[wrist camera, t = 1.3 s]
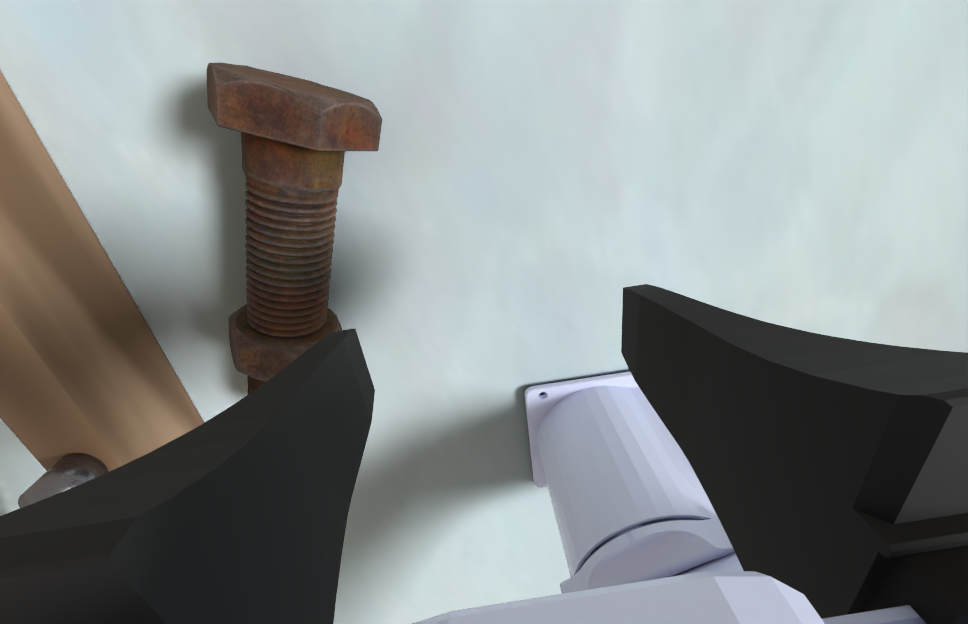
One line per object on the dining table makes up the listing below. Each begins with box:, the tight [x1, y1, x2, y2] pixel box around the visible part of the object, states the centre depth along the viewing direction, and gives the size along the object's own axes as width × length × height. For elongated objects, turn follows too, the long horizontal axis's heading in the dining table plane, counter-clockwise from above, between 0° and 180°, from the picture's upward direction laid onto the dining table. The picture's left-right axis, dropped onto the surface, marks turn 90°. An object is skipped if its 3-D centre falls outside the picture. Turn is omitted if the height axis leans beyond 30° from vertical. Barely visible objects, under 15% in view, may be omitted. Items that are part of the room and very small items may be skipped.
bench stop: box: [0, 71, 204, 508], centre depth 16 cm, size 3×20×7 cm, turn 7°
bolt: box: [207, 63, 382, 395], centre depth 18 cm, size 6×5×15 cm
